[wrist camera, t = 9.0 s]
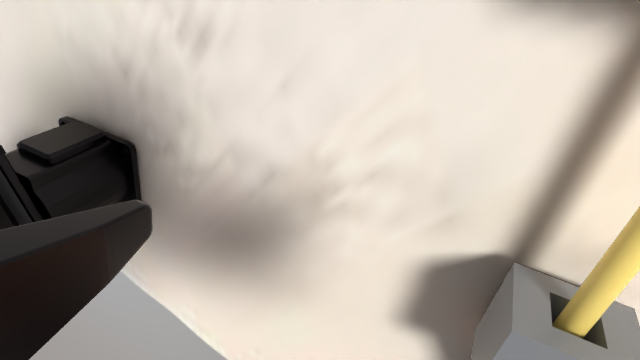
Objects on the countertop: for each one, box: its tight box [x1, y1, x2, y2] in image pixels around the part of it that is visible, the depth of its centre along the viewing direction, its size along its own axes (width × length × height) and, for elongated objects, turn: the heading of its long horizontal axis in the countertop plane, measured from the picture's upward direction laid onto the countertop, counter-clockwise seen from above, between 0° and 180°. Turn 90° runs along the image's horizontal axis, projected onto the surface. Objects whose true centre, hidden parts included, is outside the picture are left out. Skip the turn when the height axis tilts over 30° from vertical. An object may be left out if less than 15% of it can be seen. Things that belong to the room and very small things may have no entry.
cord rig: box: [552, 207, 640, 339], centre depth 16 cm, size 28×8×5 cm, turn 171°
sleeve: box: [471, 262, 640, 360], centre depth 18 cm, size 5×5×4 cm
